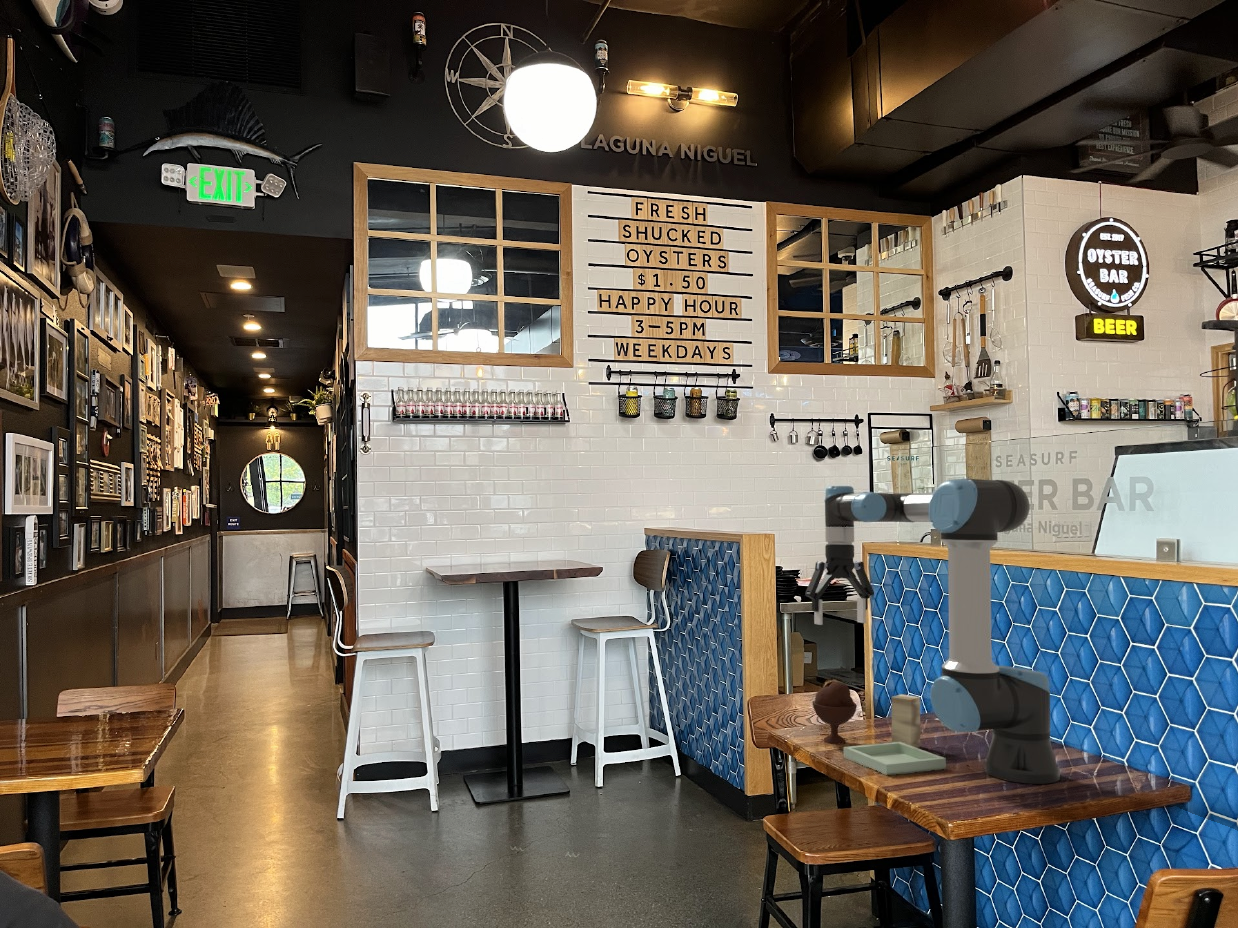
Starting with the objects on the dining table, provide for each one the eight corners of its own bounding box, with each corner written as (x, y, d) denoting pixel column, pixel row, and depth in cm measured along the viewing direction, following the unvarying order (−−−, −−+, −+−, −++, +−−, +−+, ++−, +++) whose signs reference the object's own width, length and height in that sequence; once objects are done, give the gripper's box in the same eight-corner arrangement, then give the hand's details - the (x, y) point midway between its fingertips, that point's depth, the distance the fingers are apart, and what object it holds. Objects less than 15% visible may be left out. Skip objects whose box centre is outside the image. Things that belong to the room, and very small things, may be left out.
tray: (945, 769, 204) (945, 758, 205) (886, 775, 199) (886, 764, 199) (899, 751, 219) (899, 741, 219) (843, 757, 214) (843, 746, 214)
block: (901, 742, 228) (901, 694, 229) (920, 746, 225) (920, 697, 226) (891, 746, 225) (891, 696, 225) (911, 749, 221) (910, 699, 222)
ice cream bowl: (852, 736, 234) (852, 677, 235) (859, 747, 223) (859, 685, 224) (810, 735, 235) (810, 676, 236) (815, 745, 224) (815, 684, 225)
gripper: (869, 542, 253) (870, 620, 251) (792, 543, 244) (792, 623, 242) (886, 543, 246) (887, 623, 244) (807, 543, 237) (807, 626, 235)
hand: (840, 623), depth 243 cm, fingers open, 13 cm apart
